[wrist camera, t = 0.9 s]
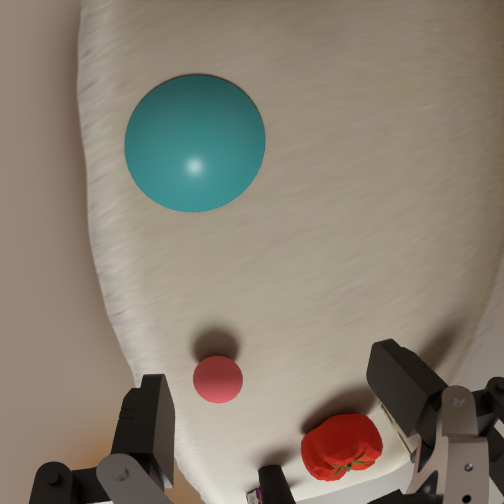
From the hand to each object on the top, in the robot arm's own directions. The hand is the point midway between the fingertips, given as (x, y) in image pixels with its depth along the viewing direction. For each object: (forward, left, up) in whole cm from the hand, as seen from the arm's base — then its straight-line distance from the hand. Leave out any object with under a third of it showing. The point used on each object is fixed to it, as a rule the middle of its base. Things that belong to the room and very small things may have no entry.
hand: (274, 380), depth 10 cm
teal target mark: (-8, -3, -18) cm, 20 cm away
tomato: (+37, +15, -18) cm, 44 cm away
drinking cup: (+52, +4, -18) cm, 55 cm away
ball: (+16, -3, -15) cm, 22 cm away
